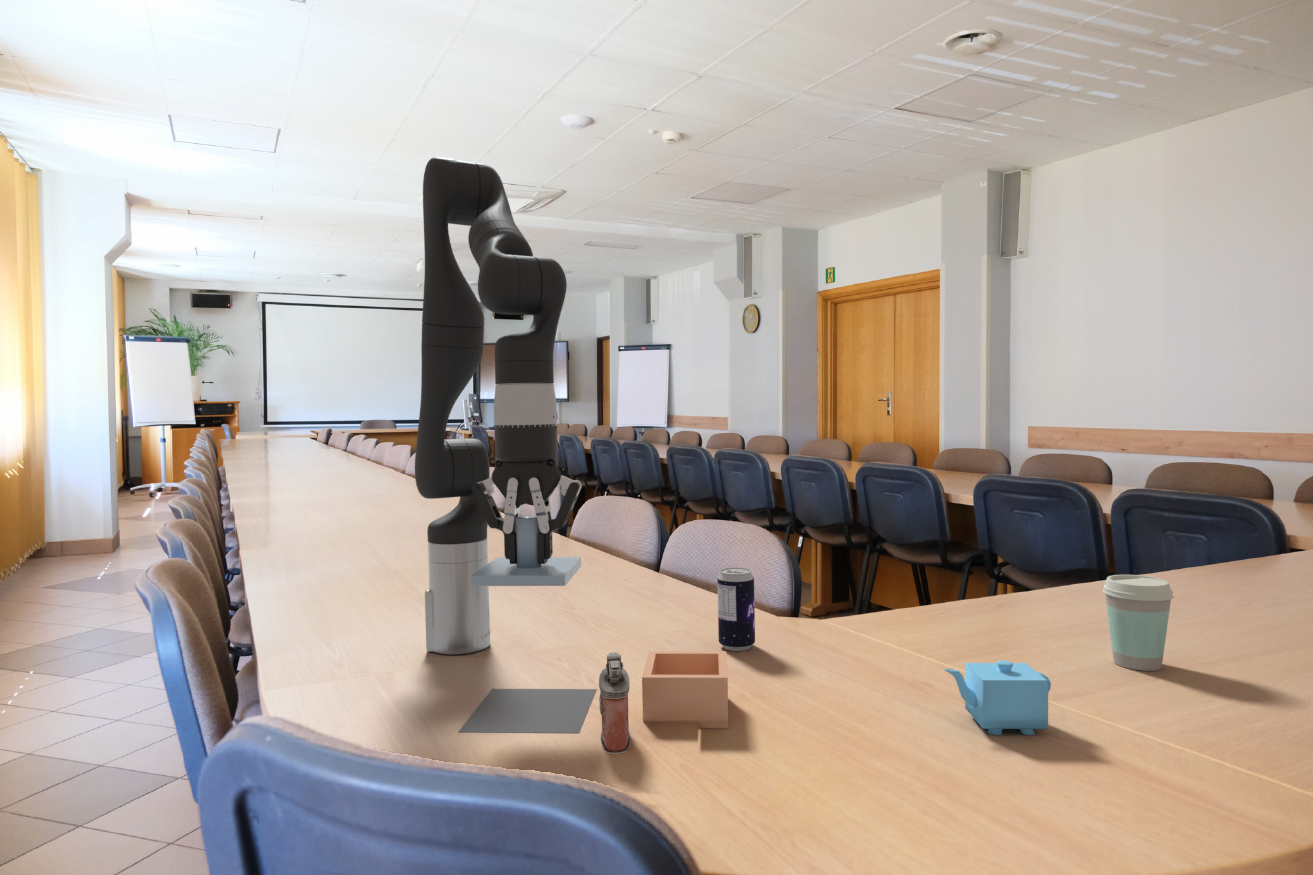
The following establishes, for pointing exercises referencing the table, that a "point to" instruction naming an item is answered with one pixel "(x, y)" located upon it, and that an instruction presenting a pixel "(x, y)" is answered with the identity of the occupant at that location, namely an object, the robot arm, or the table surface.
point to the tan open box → (686, 688)
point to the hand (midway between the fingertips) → (529, 562)
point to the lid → (527, 563)
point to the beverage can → (736, 609)
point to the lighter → (614, 706)
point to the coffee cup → (1138, 620)
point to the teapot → (1005, 696)
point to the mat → (531, 711)
